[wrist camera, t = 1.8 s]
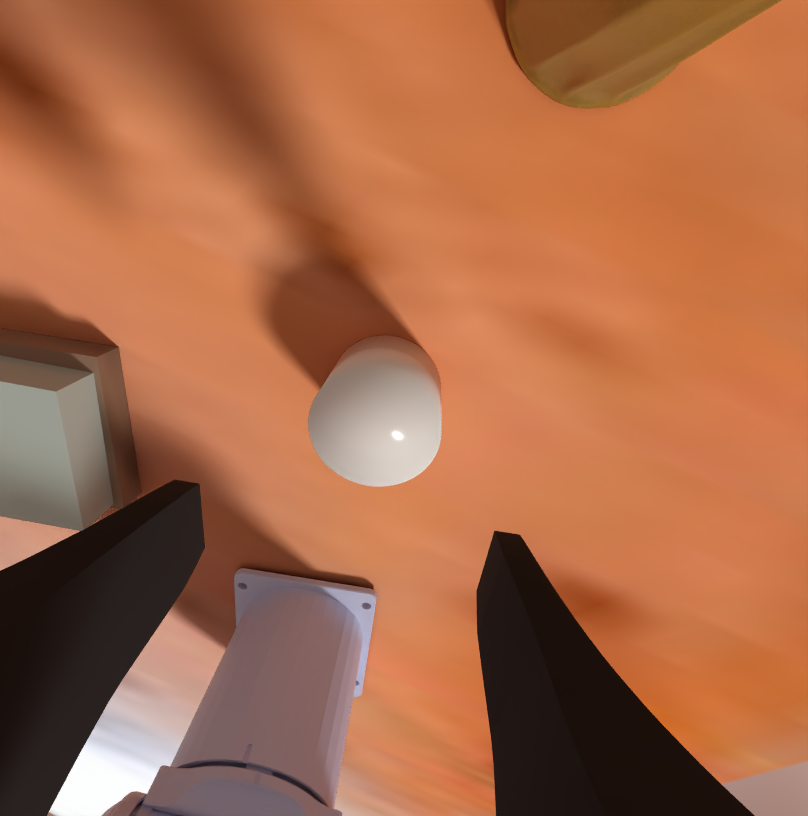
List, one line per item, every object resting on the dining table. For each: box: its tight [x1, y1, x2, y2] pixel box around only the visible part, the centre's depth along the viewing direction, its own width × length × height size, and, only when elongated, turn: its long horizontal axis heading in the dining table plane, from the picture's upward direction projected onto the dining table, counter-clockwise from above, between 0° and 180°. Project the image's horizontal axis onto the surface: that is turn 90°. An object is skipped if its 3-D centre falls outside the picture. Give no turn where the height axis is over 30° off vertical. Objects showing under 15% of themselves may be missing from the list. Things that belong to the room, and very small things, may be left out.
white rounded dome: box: [308, 335, 441, 486], centre depth 17 cm, size 5×5×4 cm
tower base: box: [0, 328, 141, 509], centre depth 21 cm, size 8×8×2 cm
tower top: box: [0, 355, 114, 531], centre depth 19 cm, size 7×7×2 cm
